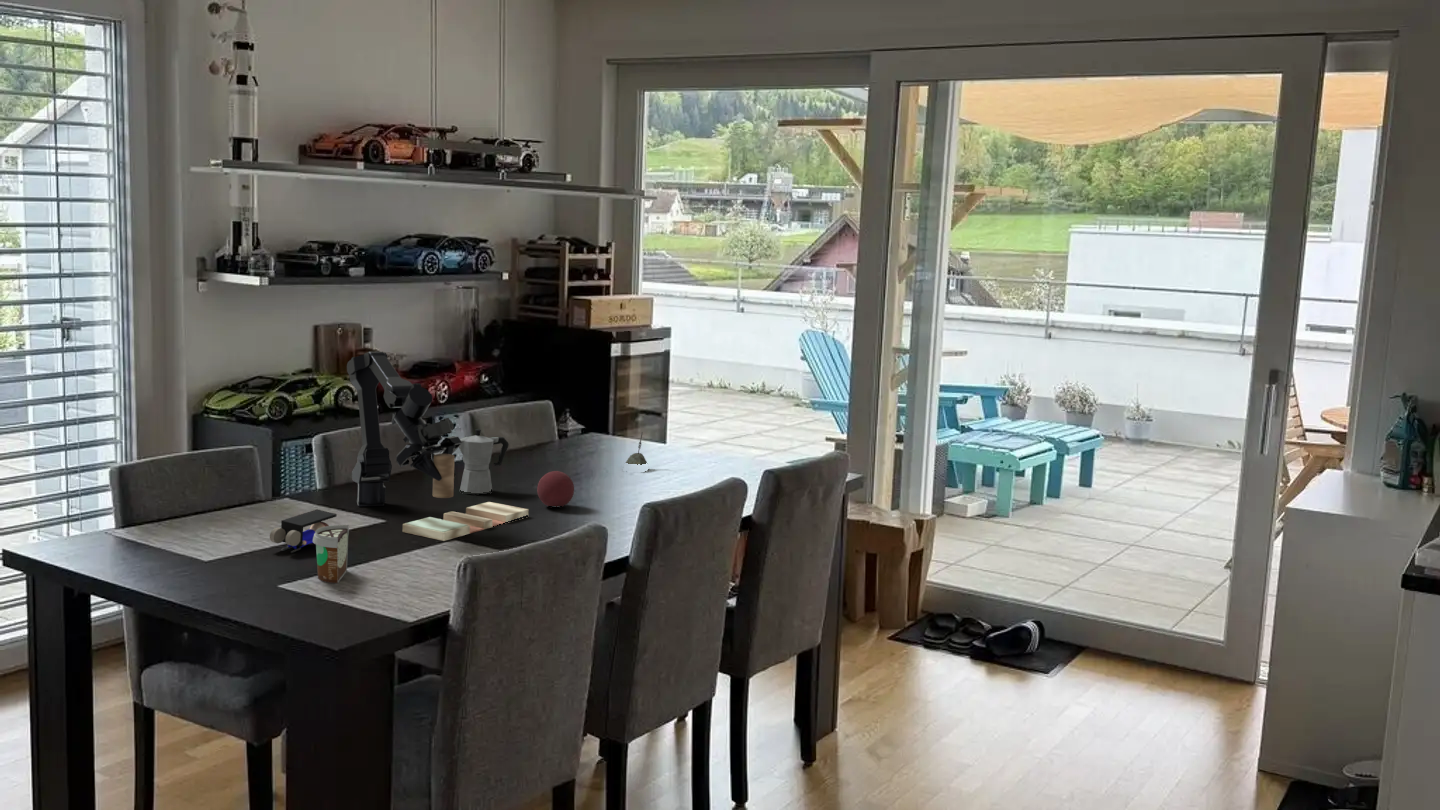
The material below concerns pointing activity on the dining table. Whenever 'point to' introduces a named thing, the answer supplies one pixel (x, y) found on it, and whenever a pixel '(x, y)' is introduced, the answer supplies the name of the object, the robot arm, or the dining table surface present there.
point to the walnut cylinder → (444, 476)
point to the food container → (331, 552)
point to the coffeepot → (479, 461)
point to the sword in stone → (637, 457)
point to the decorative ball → (555, 489)
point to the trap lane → (464, 521)
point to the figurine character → (300, 529)
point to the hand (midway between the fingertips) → (447, 478)
